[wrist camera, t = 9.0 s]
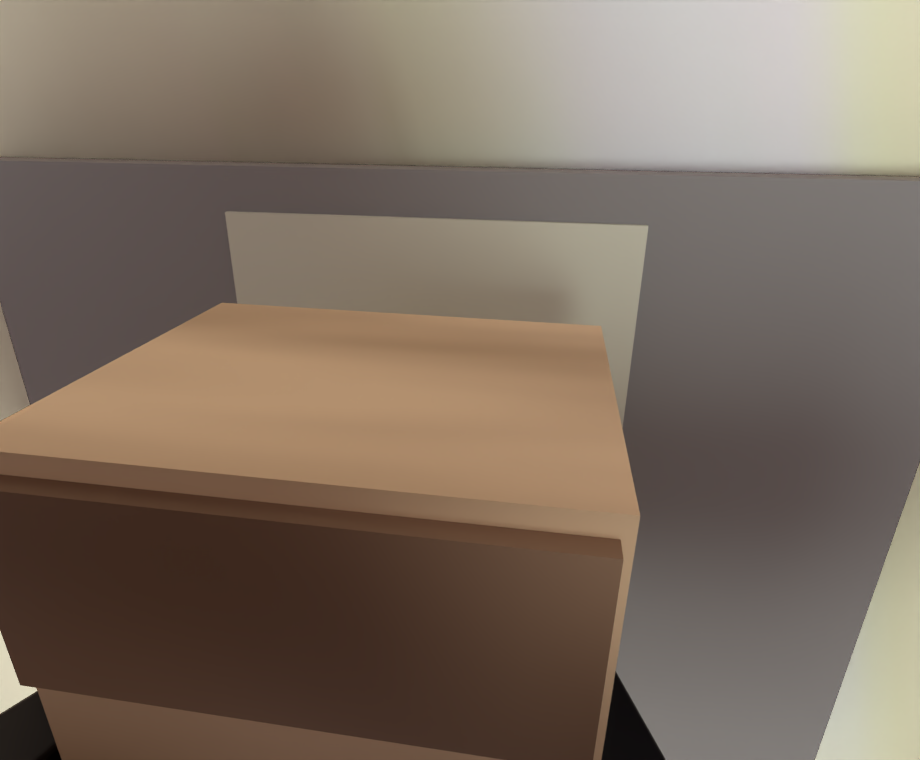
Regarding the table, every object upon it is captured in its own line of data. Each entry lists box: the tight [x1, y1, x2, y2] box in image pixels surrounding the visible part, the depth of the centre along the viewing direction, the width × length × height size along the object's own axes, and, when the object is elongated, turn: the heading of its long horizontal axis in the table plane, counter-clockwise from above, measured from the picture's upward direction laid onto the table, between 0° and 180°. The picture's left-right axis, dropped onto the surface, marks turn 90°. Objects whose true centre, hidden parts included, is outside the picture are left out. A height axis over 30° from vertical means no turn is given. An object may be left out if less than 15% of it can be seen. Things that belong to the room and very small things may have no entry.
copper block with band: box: [0, 303, 640, 760], centre depth 8 cm, size 9×5×4 cm, turn 179°
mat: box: [0, 157, 920, 760], centre depth 12 cm, size 16×12×1 cm
